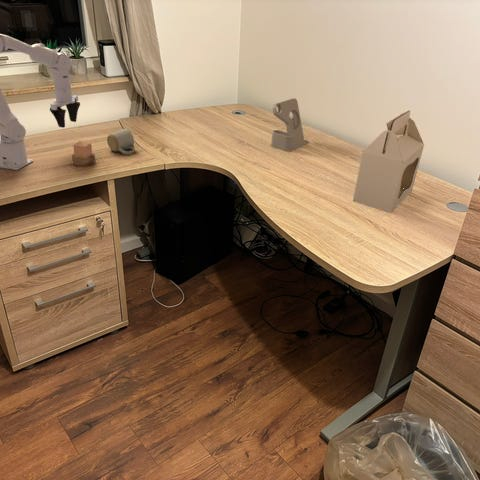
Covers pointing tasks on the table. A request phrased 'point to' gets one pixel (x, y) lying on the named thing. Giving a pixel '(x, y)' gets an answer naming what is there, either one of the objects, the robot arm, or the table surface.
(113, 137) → the ceramic mug
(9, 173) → the table surface
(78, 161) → the pedestal
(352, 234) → the table surface
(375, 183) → the gable box
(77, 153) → the cube
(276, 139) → the phone holder
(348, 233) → the table surface
